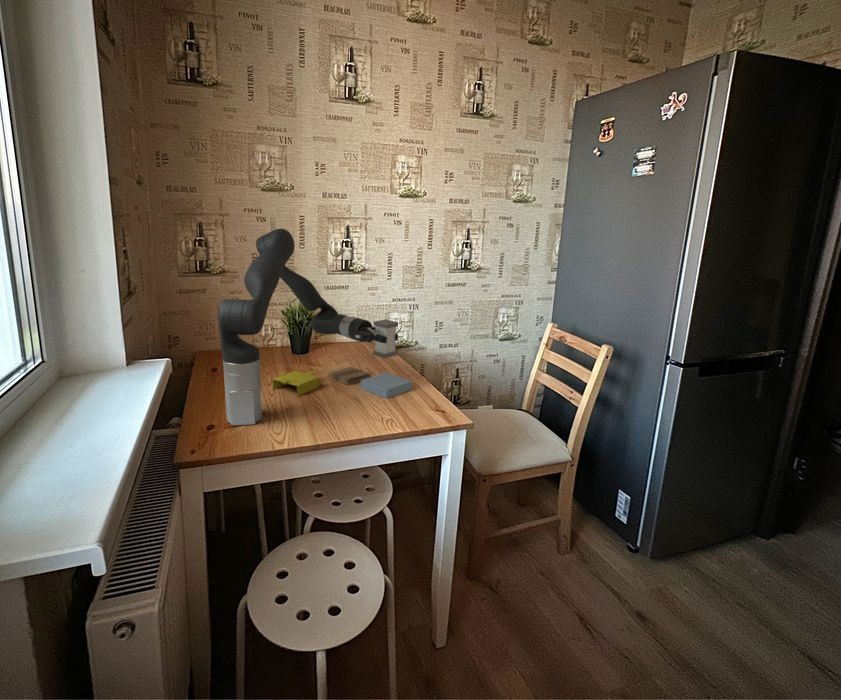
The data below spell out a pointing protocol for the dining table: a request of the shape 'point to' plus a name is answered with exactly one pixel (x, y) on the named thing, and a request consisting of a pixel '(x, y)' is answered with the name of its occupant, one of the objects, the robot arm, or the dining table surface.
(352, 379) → the stand
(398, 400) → the dining table surface
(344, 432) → the dining table surface
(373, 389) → the stand
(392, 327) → the post
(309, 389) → the bracket
